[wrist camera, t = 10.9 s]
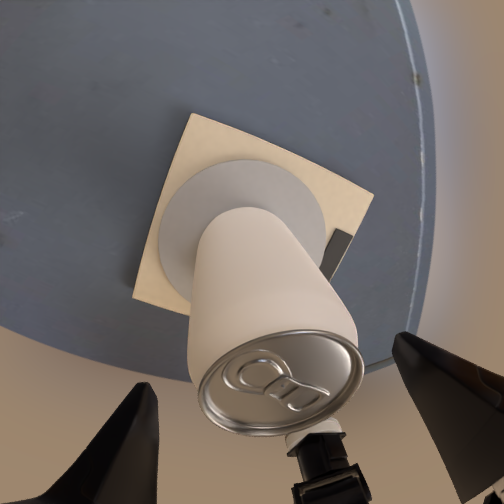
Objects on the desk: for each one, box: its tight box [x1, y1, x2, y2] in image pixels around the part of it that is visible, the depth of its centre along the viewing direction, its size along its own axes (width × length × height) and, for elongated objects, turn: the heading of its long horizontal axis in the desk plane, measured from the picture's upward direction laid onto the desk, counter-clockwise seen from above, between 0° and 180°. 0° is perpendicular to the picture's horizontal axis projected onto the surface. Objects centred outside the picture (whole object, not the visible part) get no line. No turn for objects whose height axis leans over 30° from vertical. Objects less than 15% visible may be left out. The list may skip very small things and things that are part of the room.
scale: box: [132, 113, 374, 316], centre depth 20 cm, size 14×14×2 cm
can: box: [187, 207, 364, 437], centre depth 14 cm, size 6×6×12 cm
